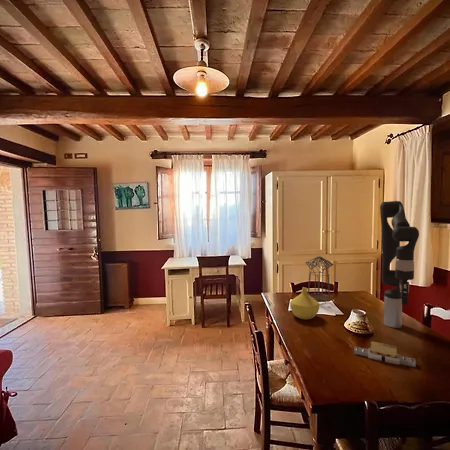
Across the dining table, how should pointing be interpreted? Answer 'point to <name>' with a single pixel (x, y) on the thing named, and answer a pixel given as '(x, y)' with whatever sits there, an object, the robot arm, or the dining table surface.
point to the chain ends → (388, 359)
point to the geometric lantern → (319, 276)
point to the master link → (383, 349)
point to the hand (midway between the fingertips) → (403, 301)
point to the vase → (304, 305)
